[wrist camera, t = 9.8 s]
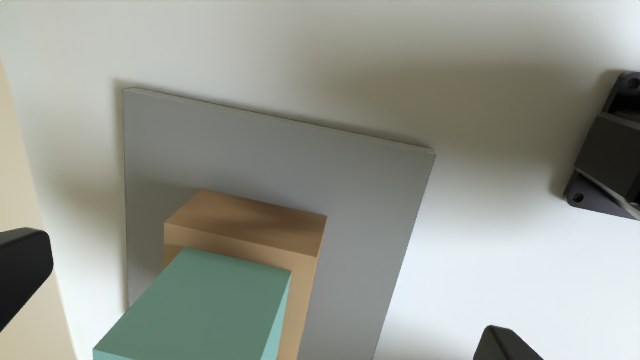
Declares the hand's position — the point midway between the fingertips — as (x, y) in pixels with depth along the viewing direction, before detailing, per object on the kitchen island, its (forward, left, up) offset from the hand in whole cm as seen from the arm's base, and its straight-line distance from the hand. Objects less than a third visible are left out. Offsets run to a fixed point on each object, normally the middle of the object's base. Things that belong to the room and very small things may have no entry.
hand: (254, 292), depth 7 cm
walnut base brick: (+3, +8, -12) cm, 14 cm away
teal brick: (+3, +8, -8) cm, 11 cm away
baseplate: (+3, +8, -13) cm, 15 cm away
